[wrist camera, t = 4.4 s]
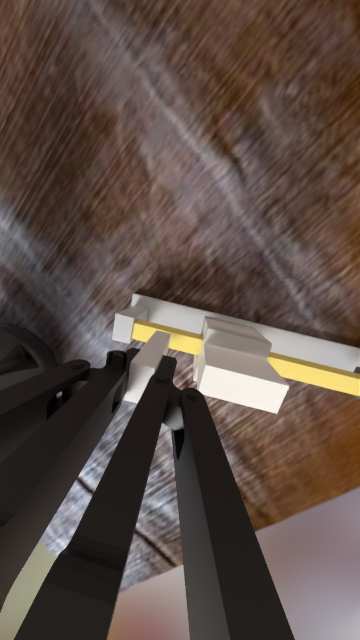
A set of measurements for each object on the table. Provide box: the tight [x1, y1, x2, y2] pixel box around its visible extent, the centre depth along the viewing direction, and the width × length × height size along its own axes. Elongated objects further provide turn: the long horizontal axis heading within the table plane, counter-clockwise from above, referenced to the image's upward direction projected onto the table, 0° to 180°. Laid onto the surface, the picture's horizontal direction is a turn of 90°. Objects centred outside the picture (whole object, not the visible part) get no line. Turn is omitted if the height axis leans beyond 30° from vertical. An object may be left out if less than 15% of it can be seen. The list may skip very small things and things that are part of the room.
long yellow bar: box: [131, 319, 360, 400], centre depth 19 cm, size 32×3×3 cm, turn 78°
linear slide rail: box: [112, 293, 360, 372], centre depth 21 cm, size 34×6×7 cm, turn 78°
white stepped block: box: [193, 316, 289, 414], centre depth 17 cm, size 6×6×10 cm
